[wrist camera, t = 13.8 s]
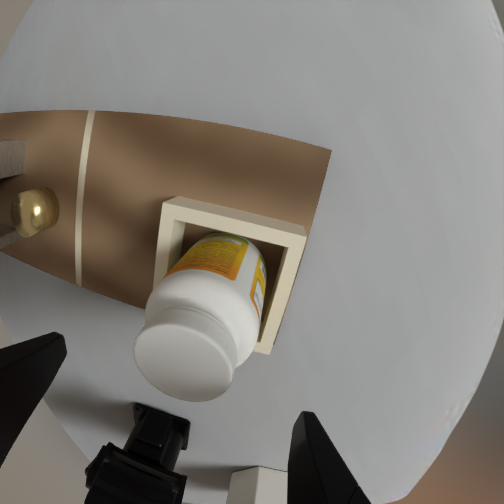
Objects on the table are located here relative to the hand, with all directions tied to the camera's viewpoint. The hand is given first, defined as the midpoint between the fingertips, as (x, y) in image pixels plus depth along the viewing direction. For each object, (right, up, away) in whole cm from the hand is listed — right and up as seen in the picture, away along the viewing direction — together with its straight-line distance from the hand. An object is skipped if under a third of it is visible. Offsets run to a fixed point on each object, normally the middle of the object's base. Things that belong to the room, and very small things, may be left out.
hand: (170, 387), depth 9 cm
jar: (+4, -26, +22) cm, 34 cm away
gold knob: (-14, +8, +10) cm, 19 cm away
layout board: (-10, +9, +11) cm, 17 cm away
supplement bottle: (+1, +3, +11) cm, 11 cm away
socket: (+1, +3, +10) cm, 11 cm away
